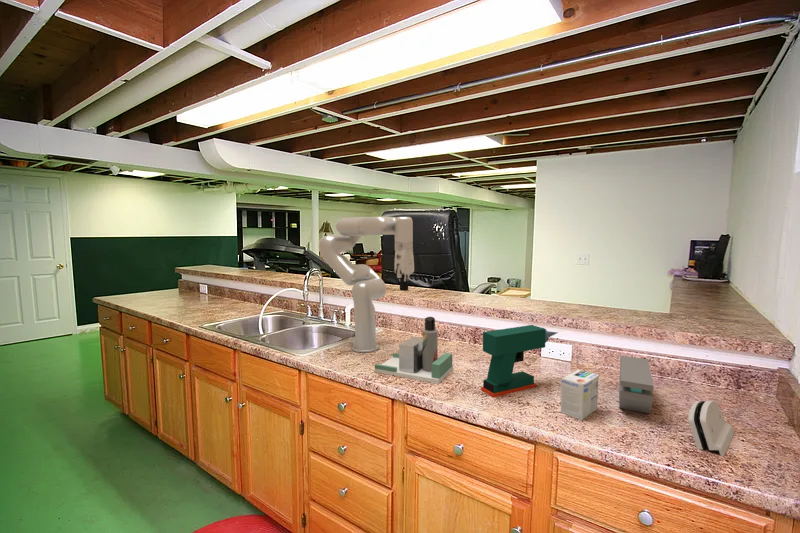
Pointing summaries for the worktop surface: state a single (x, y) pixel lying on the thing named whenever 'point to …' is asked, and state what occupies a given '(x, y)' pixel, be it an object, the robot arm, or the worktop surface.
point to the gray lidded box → (635, 384)
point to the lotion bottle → (429, 344)
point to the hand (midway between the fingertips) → (404, 290)
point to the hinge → (710, 427)
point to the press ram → (411, 355)
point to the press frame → (436, 376)
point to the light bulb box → (579, 394)
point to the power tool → (511, 357)
